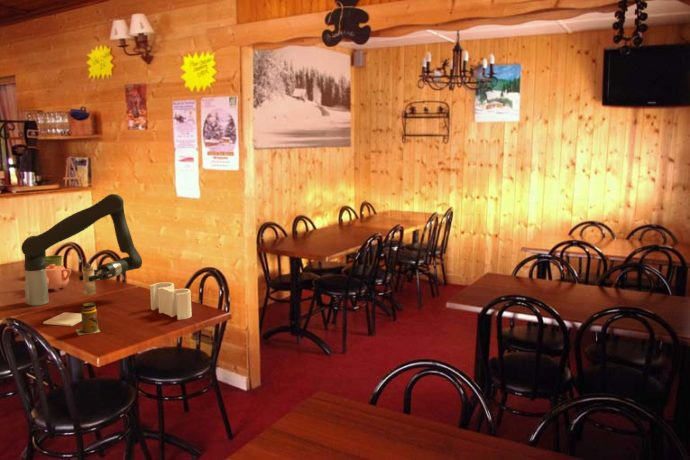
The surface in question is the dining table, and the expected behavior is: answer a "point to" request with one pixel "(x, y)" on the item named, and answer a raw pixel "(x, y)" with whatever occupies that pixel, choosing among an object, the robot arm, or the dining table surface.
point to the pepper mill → (88, 286)
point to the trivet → (65, 319)
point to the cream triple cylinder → (171, 300)
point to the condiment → (88, 319)
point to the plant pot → (53, 260)
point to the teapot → (57, 277)
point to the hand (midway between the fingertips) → (84, 278)
